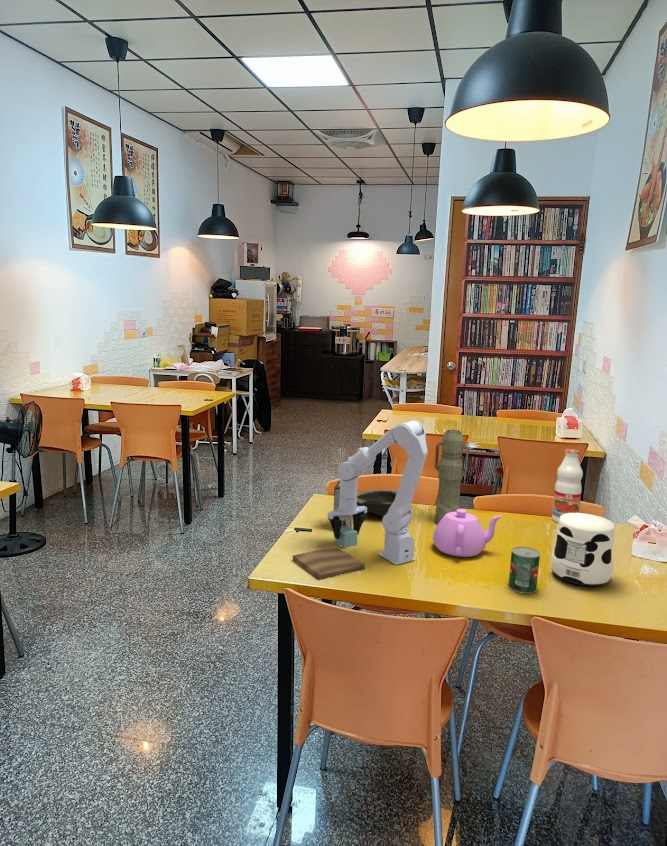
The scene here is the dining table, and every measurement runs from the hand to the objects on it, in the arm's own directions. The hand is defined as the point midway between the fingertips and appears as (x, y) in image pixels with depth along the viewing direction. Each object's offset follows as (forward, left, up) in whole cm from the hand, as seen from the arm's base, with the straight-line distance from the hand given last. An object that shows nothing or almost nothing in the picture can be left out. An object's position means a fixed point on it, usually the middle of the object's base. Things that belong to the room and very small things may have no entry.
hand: (346, 536), depth 205 cm
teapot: (-23, -32, -3) cm, 40 cm away
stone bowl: (+21, -30, -3) cm, 37 cm away
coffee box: (+14, -8, -3) cm, 16 cm away
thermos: (0, -45, -3) cm, 45 cm away
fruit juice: (-20, -88, -3) cm, 90 cm away
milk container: (-55, -48, -3) cm, 73 cm away
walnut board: (-11, +14, -3) cm, 18 cm away
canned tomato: (-51, -27, -3) cm, 58 cm away
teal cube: (0, 0, -3) cm, 3 cm away
